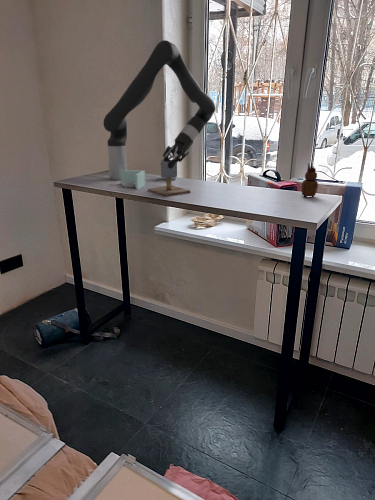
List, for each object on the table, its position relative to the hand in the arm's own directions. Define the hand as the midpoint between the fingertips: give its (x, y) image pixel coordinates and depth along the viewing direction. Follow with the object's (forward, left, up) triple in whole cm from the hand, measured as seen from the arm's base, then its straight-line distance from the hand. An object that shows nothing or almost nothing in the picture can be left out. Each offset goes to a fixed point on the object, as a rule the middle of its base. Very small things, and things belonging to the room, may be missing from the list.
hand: (165, 166), depth 166 cm
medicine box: (-26, +21, -12) cm, 35 cm away
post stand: (0, +2, -12) cm, 12 cm away
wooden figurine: (+44, +47, -12) cm, 65 cm away
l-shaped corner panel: (-21, -6, -13) cm, 26 cm away
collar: (0, +2, -5) cm, 5 cm away
